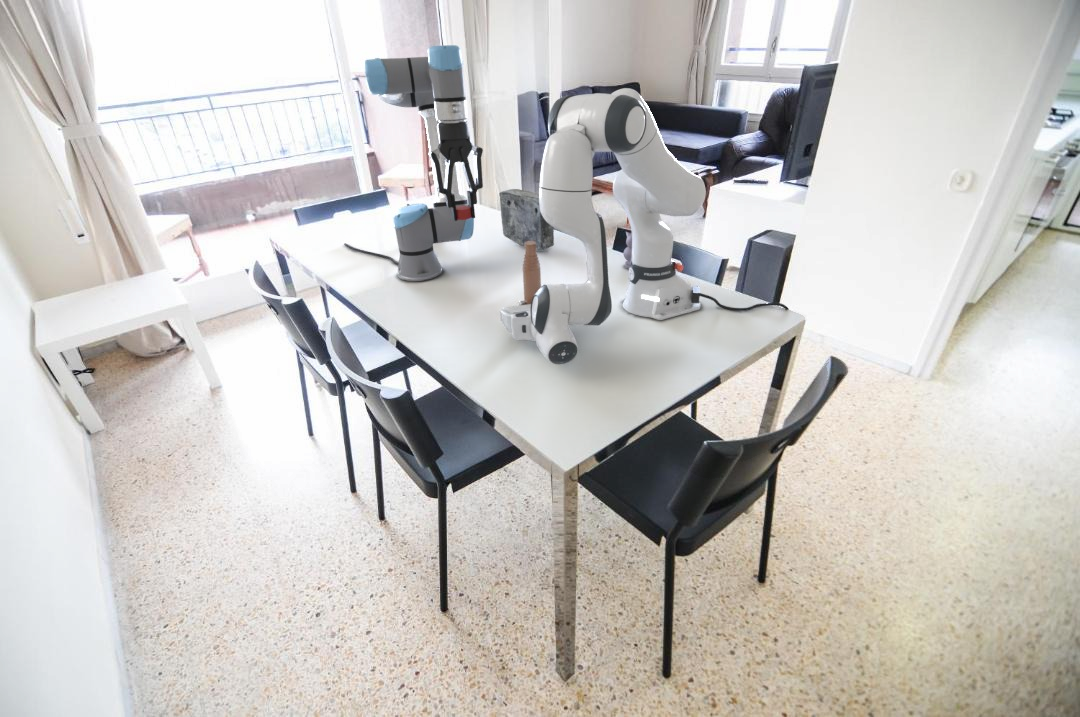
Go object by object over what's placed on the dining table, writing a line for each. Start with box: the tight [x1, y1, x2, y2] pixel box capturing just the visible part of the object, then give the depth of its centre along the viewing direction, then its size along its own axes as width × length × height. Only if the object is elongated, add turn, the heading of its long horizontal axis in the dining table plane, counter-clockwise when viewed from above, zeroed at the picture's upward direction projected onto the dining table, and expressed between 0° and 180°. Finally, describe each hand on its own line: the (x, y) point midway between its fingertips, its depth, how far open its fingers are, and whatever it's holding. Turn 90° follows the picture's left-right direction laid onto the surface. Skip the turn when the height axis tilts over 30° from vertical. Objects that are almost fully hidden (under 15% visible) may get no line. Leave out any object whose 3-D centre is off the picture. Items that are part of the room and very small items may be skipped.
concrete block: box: [498, 188, 555, 252], centre depth 192 cm, size 27×9×20 cm, turn 36°
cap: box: [456, 206, 472, 220], centre depth 131 cm, size 4×4×3 cm
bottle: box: [522, 241, 542, 305], centre depth 134 cm, size 5×5×24 cm
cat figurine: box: [622, 231, 632, 270], centre depth 172 cm, size 8×8×12 cm
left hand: (463, 218), depth 131 cm, fingers closed on cap, 4 cm apart
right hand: (532, 301), depth 138 cm, fingers closed on bottle, 5 cm apart
